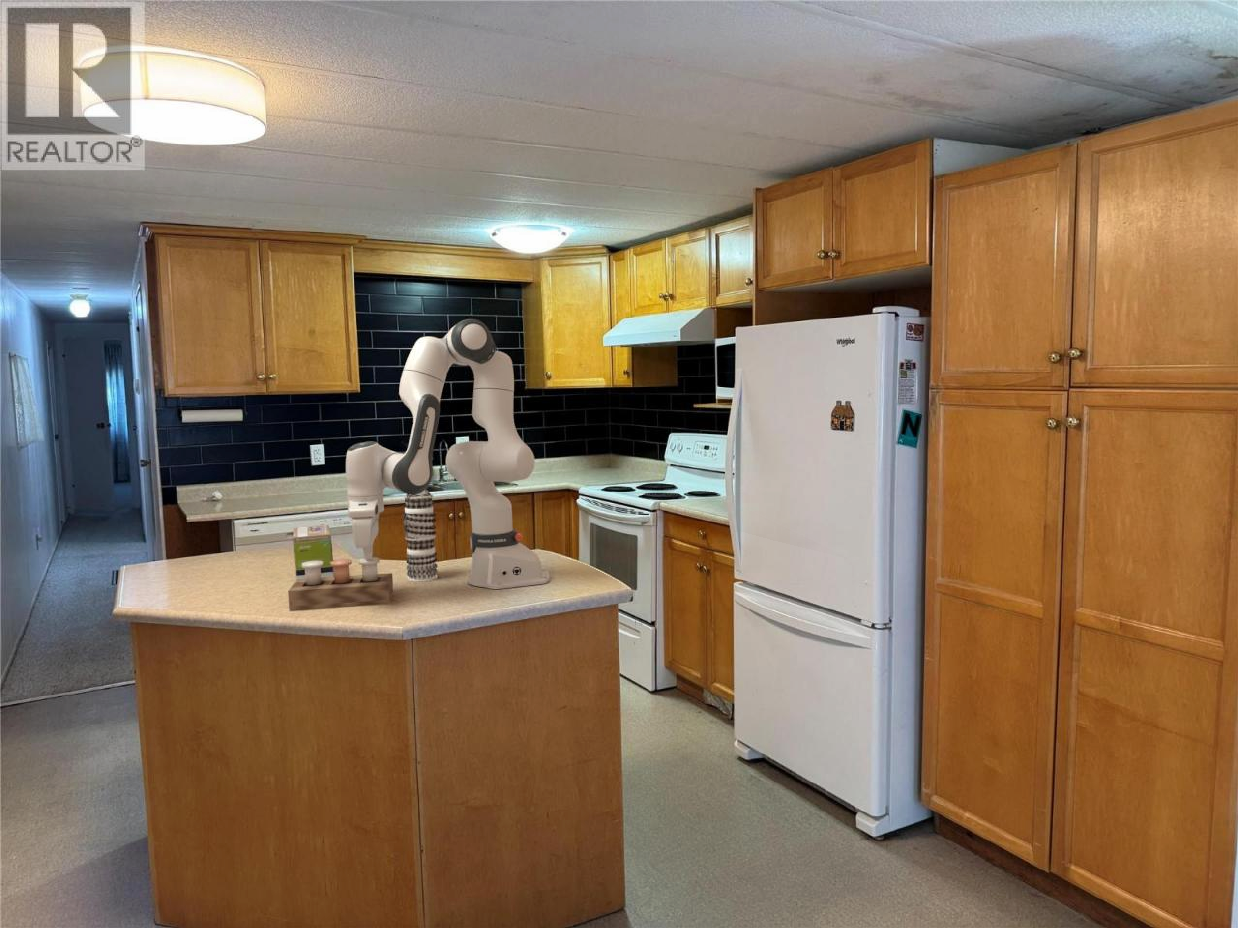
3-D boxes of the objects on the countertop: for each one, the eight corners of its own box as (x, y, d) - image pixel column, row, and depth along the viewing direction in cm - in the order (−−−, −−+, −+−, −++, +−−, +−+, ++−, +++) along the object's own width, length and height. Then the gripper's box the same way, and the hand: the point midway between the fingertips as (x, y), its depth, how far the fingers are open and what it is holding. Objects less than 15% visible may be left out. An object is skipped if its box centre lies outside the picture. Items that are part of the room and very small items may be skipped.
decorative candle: (402, 582, 233) (397, 493, 230) (410, 574, 242) (405, 489, 239) (435, 581, 233) (431, 493, 230) (441, 573, 242) (437, 488, 239)
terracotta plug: (353, 578, 218) (352, 558, 217) (351, 583, 213) (350, 562, 212) (333, 579, 217) (331, 559, 216) (329, 584, 212) (328, 564, 211)
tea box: (296, 576, 242) (293, 526, 241) (333, 573, 246) (329, 523, 244) (296, 589, 228) (292, 535, 227) (334, 585, 232) (331, 532, 230)
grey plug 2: (381, 576, 219) (380, 556, 219) (379, 581, 214) (378, 561, 213) (361, 577, 218) (359, 557, 218) (358, 582, 213) (357, 562, 213)
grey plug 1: (325, 579, 217) (324, 559, 216) (322, 584, 212) (321, 564, 211) (304, 581, 216) (303, 561, 215) (301, 586, 211) (299, 565, 210)
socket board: (393, 591, 224) (392, 573, 223) (389, 603, 212) (388, 584, 211) (299, 597, 219) (297, 579, 219) (289, 610, 208) (288, 590, 207)
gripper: (358, 500, 224) (361, 550, 225) (347, 512, 204) (350, 567, 205) (382, 498, 225) (385, 549, 226) (374, 511, 205) (376, 566, 206)
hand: (368, 558), depth 216 cm, fingers closed
